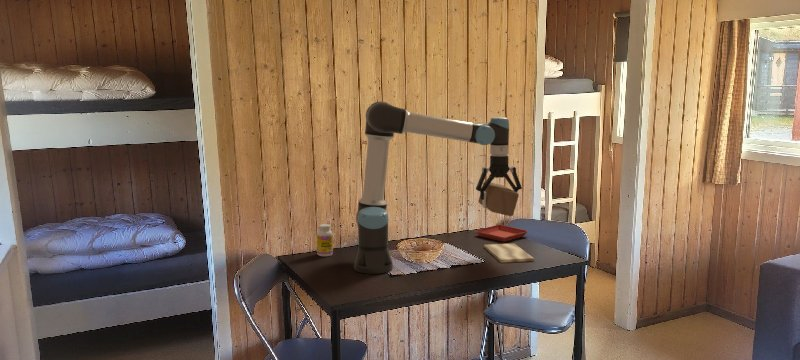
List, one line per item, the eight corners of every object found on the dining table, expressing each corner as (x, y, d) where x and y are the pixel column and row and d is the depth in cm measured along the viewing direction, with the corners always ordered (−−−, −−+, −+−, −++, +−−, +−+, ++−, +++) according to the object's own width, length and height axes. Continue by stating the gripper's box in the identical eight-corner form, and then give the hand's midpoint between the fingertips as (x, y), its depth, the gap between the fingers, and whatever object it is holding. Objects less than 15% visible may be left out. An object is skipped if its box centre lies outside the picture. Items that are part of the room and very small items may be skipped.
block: (504, 185, 271) (520, 193, 251) (498, 207, 272) (513, 217, 252) (483, 180, 269) (497, 188, 249) (477, 202, 270) (490, 211, 251)
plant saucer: (504, 244, 284) (504, 237, 283) (474, 236, 297) (474, 230, 296) (528, 237, 295) (528, 230, 295) (498, 230, 309) (499, 224, 308)
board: (500, 262, 253) (501, 259, 253) (483, 247, 276) (483, 244, 276) (533, 261, 255) (533, 258, 255) (514, 246, 278) (514, 243, 278)
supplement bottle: (319, 257, 260) (319, 227, 258) (315, 253, 266) (314, 224, 264) (335, 255, 263) (334, 226, 261) (330, 251, 269) (329, 222, 267)
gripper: (473, 156, 251) (472, 209, 255) (530, 155, 255) (529, 207, 258) (468, 154, 259) (468, 206, 262) (524, 153, 262) (523, 204, 266)
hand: (498, 206), depth 260 cm, fingers closed on block, 12 cm apart
